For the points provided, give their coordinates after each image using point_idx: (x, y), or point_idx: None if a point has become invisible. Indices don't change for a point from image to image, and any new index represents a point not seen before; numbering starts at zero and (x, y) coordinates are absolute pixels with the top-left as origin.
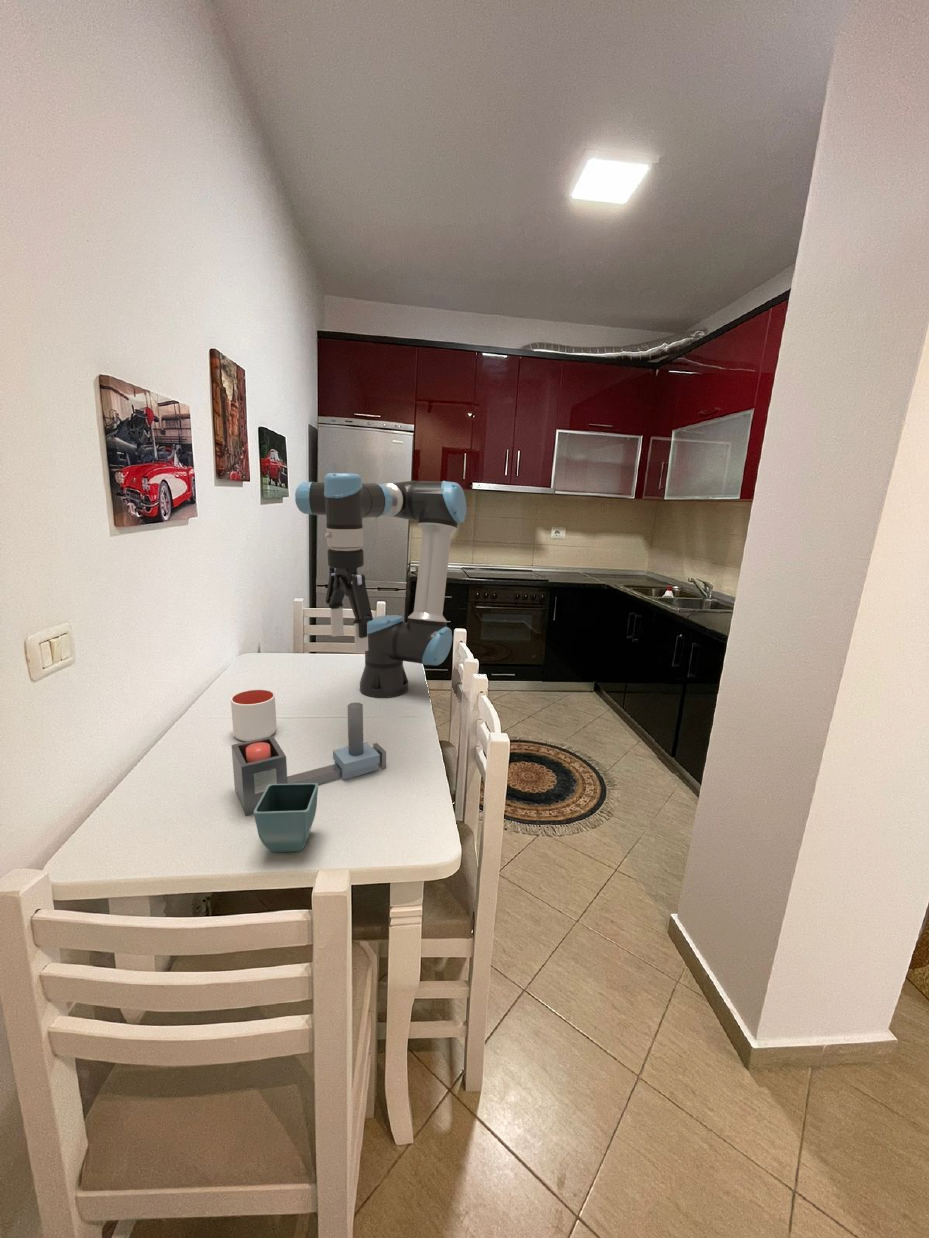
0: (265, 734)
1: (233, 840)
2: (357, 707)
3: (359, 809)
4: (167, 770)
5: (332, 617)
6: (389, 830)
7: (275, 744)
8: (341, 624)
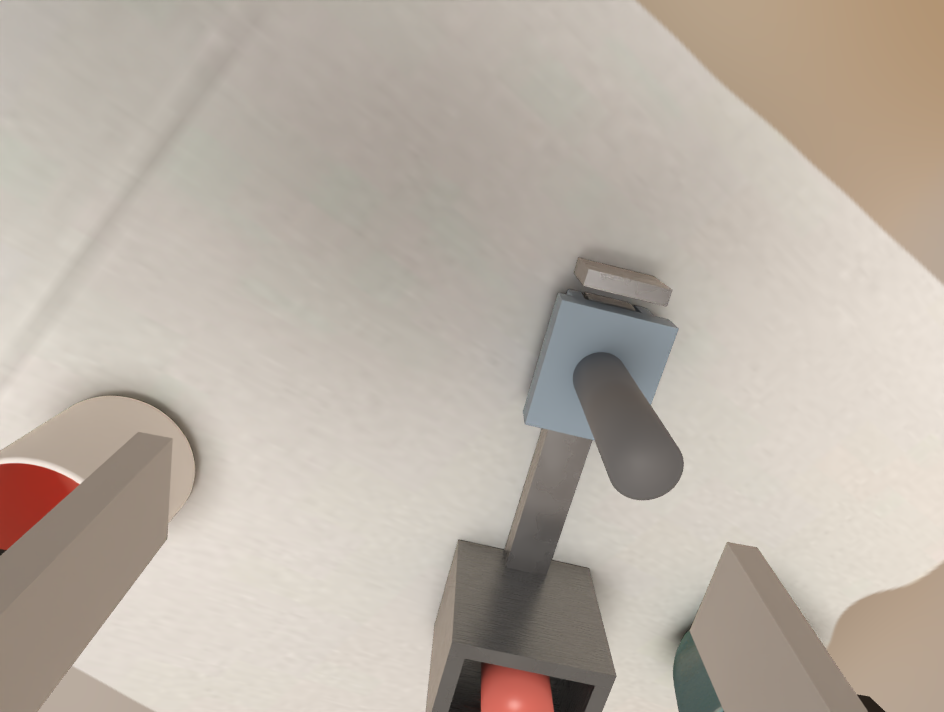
0: (190, 464)
1: (624, 697)
2: (673, 472)
3: (758, 466)
4: (222, 691)
5: (39, 704)
6: (889, 467)
7: (517, 662)
8: (106, 526)
